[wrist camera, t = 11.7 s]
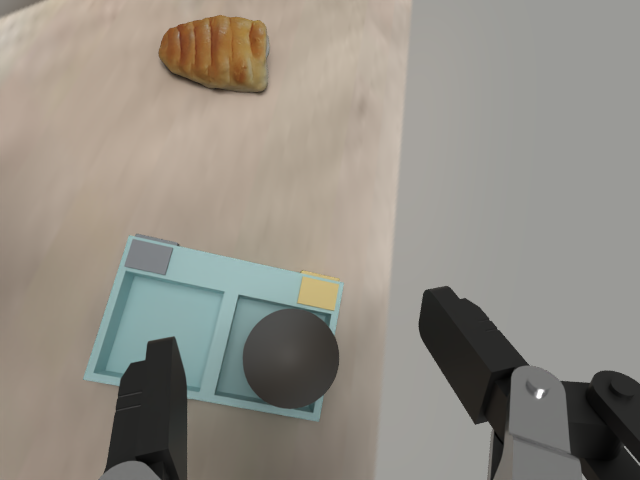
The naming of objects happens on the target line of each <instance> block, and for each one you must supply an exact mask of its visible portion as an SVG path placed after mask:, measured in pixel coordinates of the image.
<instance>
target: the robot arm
mask: <svg viewBox="0 0 640 480" xmlns="http://www.w3.org/2000/svg"><path fill="white" fill-rule="evenodd" d="M419 332H420V336H421V338H422V340H423V342H424V344H425V345H426V347H427V349H428V350H429V352H430V353H431V355H432V357H433V358H434V360H435V361H436V363H437V365H438V366H439V368H440V369H441V371H442V373H443V374H444V376H445V377H446V379H447V380H448V382H449V384H450V385H451V387H452V388H453V390H454V392H455V393H456V394H457V396H458V398H459V400H460V401H461V403H462V404H463V406H464V408H465V409H466V411H467V412H468V414H469V416H470V417H471V419H472V420H473V422H474V424H475V425H476V424H479V423H483V422H487V421H488V422H489V423H490V425H491V426H492V428H493V429H492V432H491V441H490V453H489V465H488V477H487V480H582V474H583V475H584V476H585V478H586V479H587V480H640V466H639V465H638V463H637V462H636V461H635V460H634V459H633V458H632V457H631V455H630V454H629V453H628V452H627V450H626V449H625V448H624V446H626V447H627V449H628V450H629V451H630V452H631V453H632V455H633V456H634V457H635V458H636V459H637V460H638V462H640V384H639V383H638V382H637V381H635V380H634V379H632V378H630V377H629V376H626V375H624V374H622V373H619V372H615V371H600V372H598V373H596V374H595V375H594V377H593V379H592V381H591V382H590V383H582V382H568V381H559V380H558V378H556V377H555V376H554V375H553V374H551V373H550V372H548V371H547V370H544V369H542V368H539V367H535V366H530V365H529V364H528V363H527V362H526V361H525V360H524V359H523V357H522V356H521V355H520V354H519V353H518V352H517V350H516V349H515V348H514V347H513V346H512V345H511V344H510V342H509V341H508V340H507V339H506V338H505V336H504V335H503V334H502V333H501V332H500V331H499V330H497V327H496V326H495V325H494V324H493V322H492V321H490V320H489V318H488V317H487V316H486V314H485V313H484V312H483V311H482V310H481V308H480V307H478V306H477V305H475V304H473V303H472V302H470V301H469V300H467V299H466V298H464V299H459V298H458V296H457V295H456V294H455V293H454V292H453V290H452V289H451V288H450V287H448V286H444V287H438V288H433V289H428V290H425V292H424V293H423V299H422V305H421V312H420V318H419ZM99 480H187V382H186V375H185V370H184V366H183V363H182V359H181V355H180V352H179V348H178V345H177V341H176V338H175V336H173V337H167V338H162V339H157V340H151V341H148V343H147V349H146V358H145V360H143V361H138V362H133V363H130V365H129V366H128V368H127V370H126V371H125V373H124V374H123V376H122V378H121V380H120V386H119V392H118V399H117V404H116V413H115V416H114V422H113V429H112V435H111V441H110V447H109V453H108V459H107V465H106V468H105V471H104V473H103V475H102V476H101V477H100V478H99Z"/></svg>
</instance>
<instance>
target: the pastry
mask: <svg viewBox="0 0 640 480" xmlns="http://www.w3.org/2000/svg"><path fill="white" fill-rule="evenodd" d="M268 53H269V38H268V35H267V29H266V26H265V25H264V23H262V22H261V21H260V20H257V21H252V20H248V19H245V18H241V17H231V18H230V17H226V16H222V15H218V16H215V17H210V18H205V19H203V20H197V21H193V22H188V23H186V24H180V25H178V26H177V27H174V28H170V29H169V30H168V31H167V32H166V33H165V35H164V36H163V39H162V41H161V46H160V49H159V57H160V59H161V60H162V62H163V63H164V64H165V65H166V66H167V67H168V69H169V70H170V71H171V72H172V73H175V74H177V75H181V76H182V77H186V78H189V79H190V80H192V81H195V82H198V83H201V84H202V85H204V86H206V87H208V88H210V89H213V88H219V89H226V90H233V91H240V92H259V91H263V90H264V89H266V87H267V85H268V69H267V64H266V58H267V55H268Z"/></svg>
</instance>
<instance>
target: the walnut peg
mask: <svg viewBox="0 0 640 480" xmlns="http://www.w3.org/2000/svg"><path fill="white" fill-rule="evenodd" d="M338 365H339V350H338V345H337V342H336V339H335V337H334V334H333V333H332V331H331V329H330V328H329V327H328V325H327V324H326V323H325V322H324V321H323V320H322V319H321V318H319V317H318V316H316V315H315V314H313V313H311V312H308V311H306V310H301V309H294V308H291V309H282V310H278V311H275V312H273V313H271V314H269V315H267V316H266V317H264V318H263V319H262V320H260V321H259V322H258V323H257V324H256V325H255V326H254V328H253V329H252V331H251V332H250V334H249V336H248V338H247V340H246V342H245V345H244V349H243V369H244V373H245V377H246V379H247V382H248V384H249V385H250V387H251V389H252V390H253V391H254V392H255V394H256V395H257V396H258V397H260V398H261V399H262V400H263V401H265V402H267V403H268V404H270V405H273V406H275V407H279V408H284V409H296V408H301V407H304V406H307V405H310V404H311V403H313V402H315V401H317V400H318V399H319V398H321V397H322V396H323V395H324V394H325V393H326V392H327V390H328V389H329V388H330V386H331V385H332V383H333V381H334V379H335V377H336V374H337V370H338Z"/></svg>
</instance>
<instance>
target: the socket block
mask: <svg viewBox="0 0 640 480" xmlns="http://www.w3.org/2000/svg"><path fill="white" fill-rule="evenodd" d="M339 280H340V279H339V278H334V277H330V276H325V275H320V274H316V273H311V272H307V271H301V272H300V273H298V272H293V271H289V270H284V269H280V268H275V267H271V266H266V265H261V264H257V263H252V262H248V261H243V260H239V259H234V258H230V257H225V256H221V255H216V254H212V253H207V252H203V251H198V250H194V249H189V248H185V247H180V245H179V244H178V243H176V242H172V241H167V240H163V239H158V238H154V237H149V236H145V235H140V234H136V235H135V236H130V235H129V237H128V241H127V244H126V247H125V250H124V253H123V256H122V259H121V262H120V265H119V269H118V272H117V275H116V278H115V281H114V284H113V287H112V290H111V293H110V297H109V300H108V303H107V306H106V309H105V312H104V315H103V318H102V322H101V325H100V328H99V331H98V334H97V337H96V340H95V343H94V346H93V350H92V353H91V356H90V359H89V362H88V365H87V368H86V371H85V374H84V378H83V380H88V381H94V382H100V383H105V384H111V385H116V386H120V380H121V378H122V376H123V374H124V373H125V371H126V370H127V368H128V366H129V365H130V363H133V362H138V361H143V360H145V358H146V349H147V343H148V341H151V340H157V339H162V338H167V337H173V336H175V338H176V341H177V345H178V348H179V352H180V355H181V359H182V363H183V366H184V370H185V375H186V382H187V398H189V399H195V400H200V401H206V402H211V403H217V404H222V405H228V406H234V407H239V408H245V409H250V410H256V411H262V412H267V413H273V414H278V415H284V416H289V417H295V418H301V419H306V420H312V421H317V422H319V419H320V414H321V408H322V402H323V397H324V395H323V396H322V397H321V398H319V399H318V400H317V401H315V402H313V403H311V404H310V405H307V406H304V407H301V408H296V409H284V408H279V407H275V406H273V405H270V404H268V403H267V402H265V401H263V400H262V399H261V398H260V397H258V396H257V395H256V394H255V392H254V391H253V390H252V389H251V387H250V385H249V384H248V382H247V379H246V377H245V373H244V369H243V349H244V345H245V342H246V340H247V338H248V336H249V334H250V332H251V331H252V329H253V328H254V326H255V325H256V324H257V323H258V322H259V321H260V320H262V319H263V318H264V317H266V316H267V315H269V314H271V313H273V312H275V311H278V310H282V309H291V308H294V309H301V310H306V311H308V312H311V313H313V314H315V315H316V316H318V317H319V318H321V319H322V320H323V321H324V322H325V323H326V324H327V325H328V327H329V328H330V329H331V331H332V333H333V334H334V335H335V330H336V324H337V319H338V313H339V307H340V302H341V296H342V291H343V285H344V283H343V282H339Z"/></svg>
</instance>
